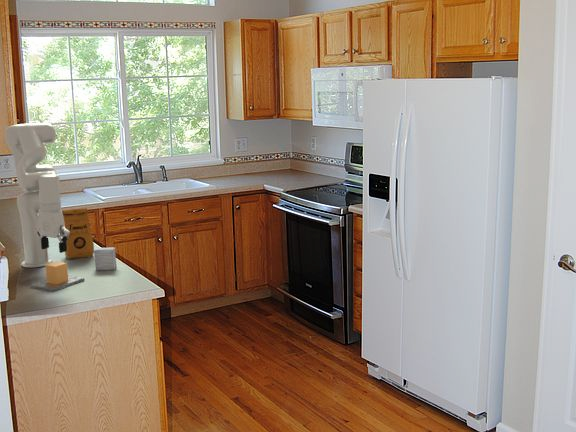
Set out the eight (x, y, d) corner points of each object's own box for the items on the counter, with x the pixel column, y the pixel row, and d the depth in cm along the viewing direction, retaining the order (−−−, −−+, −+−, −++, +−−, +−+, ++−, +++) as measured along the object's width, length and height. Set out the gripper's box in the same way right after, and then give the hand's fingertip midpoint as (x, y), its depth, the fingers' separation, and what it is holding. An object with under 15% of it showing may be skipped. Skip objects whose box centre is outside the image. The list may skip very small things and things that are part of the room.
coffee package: (95, 258, 310) (91, 209, 306) (65, 261, 306) (61, 211, 302) (93, 253, 319) (90, 205, 315) (65, 255, 315) (61, 207, 311)
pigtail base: (30, 287, 268) (29, 271, 266) (63, 276, 281) (61, 261, 280) (52, 291, 262) (50, 274, 260) (84, 280, 275) (83, 264, 274)
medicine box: (116, 267, 294) (115, 247, 292) (114, 270, 290) (113, 249, 288) (97, 267, 294) (96, 247, 292) (95, 270, 289) (93, 250, 288)
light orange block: (46, 282, 270) (45, 265, 269) (58, 278, 275) (56, 261, 274) (57, 284, 267) (55, 266, 266) (68, 280, 272) (66, 263, 271)
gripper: (26, 206, 267) (30, 249, 270) (59, 211, 258) (62, 255, 262) (42, 202, 273) (46, 245, 277) (74, 207, 265) (77, 250, 269)
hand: (54, 250), depth 269 cm, fingers open, 9 cm apart
